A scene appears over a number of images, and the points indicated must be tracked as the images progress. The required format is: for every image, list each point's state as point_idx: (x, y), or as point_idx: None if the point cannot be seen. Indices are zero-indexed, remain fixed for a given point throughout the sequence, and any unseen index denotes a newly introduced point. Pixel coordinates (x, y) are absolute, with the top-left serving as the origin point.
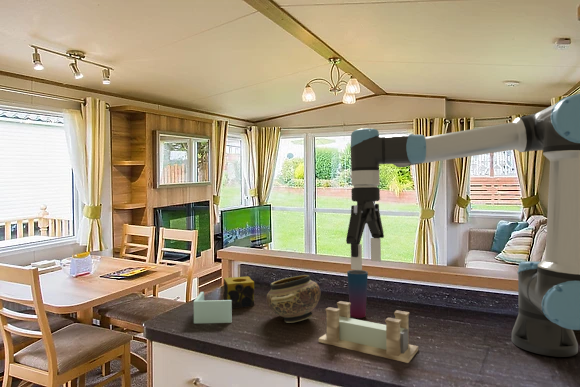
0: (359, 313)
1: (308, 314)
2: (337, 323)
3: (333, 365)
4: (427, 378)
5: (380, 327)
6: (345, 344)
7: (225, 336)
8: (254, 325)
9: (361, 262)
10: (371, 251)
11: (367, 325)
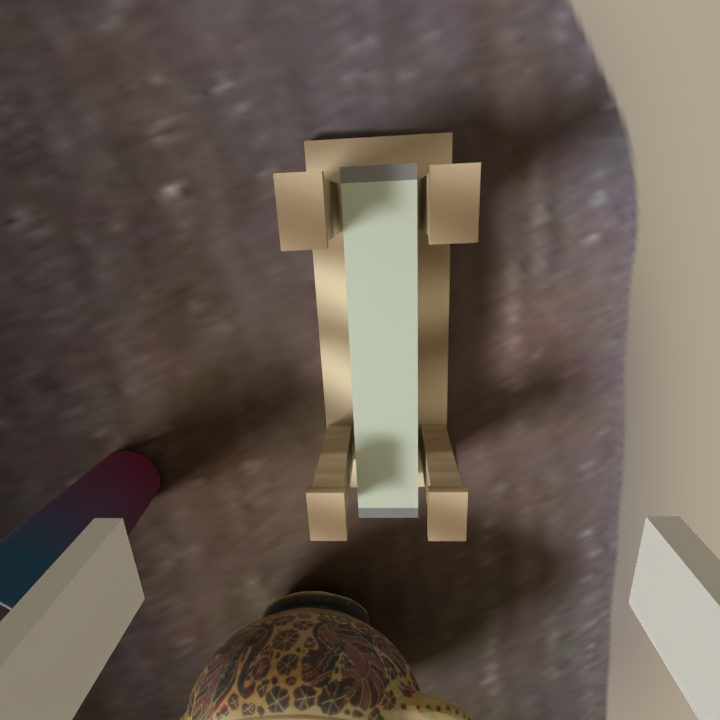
0: (140, 473)
1: (317, 602)
2: (443, 459)
3: (597, 357)
4: (546, 15)
5: (392, 289)
6: (446, 390)
7: (551, 699)
8: (429, 686)
9: (710, 580)
10: (79, 694)
11: (400, 348)
